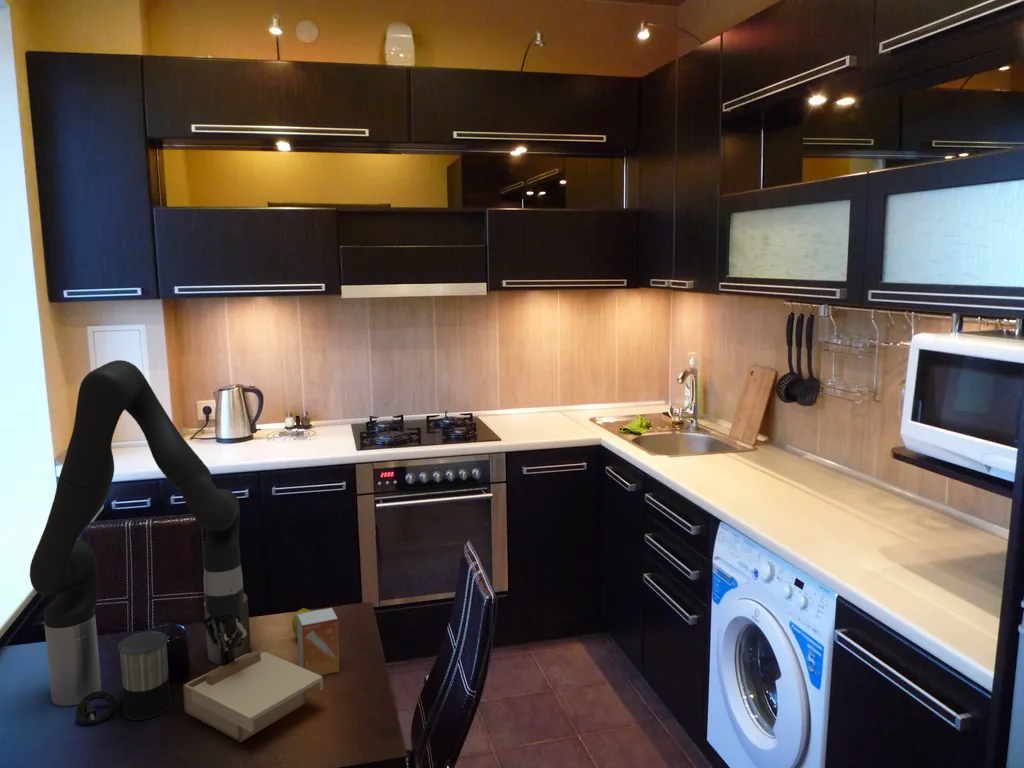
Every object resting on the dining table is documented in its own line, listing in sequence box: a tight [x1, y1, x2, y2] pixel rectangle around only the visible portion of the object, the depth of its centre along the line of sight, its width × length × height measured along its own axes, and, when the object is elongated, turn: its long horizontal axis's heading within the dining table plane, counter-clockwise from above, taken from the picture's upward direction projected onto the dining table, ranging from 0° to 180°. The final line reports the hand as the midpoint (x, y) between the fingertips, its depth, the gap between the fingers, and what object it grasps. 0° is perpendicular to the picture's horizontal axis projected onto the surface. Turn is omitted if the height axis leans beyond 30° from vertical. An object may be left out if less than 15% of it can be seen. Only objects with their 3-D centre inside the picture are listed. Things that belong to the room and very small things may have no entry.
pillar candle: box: [203, 592, 252, 665], centre depth 178 cm, size 10×10×15 cm
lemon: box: [291, 607, 312, 637], centre depth 186 cm, size 6×6×8 cm
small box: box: [297, 607, 340, 676], centre depth 171 cm, size 8×6×13 cm
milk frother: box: [75, 630, 173, 725], centre depth 154 cm, size 14×16×15 cm
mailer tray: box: [182, 653, 306, 743], centre depth 156 cm, size 18×16×6 cm
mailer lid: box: [191, 650, 324, 732], centre depth 153 cm, size 18×18×5 cm
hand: (228, 665), depth 159 cm, fingers closed
